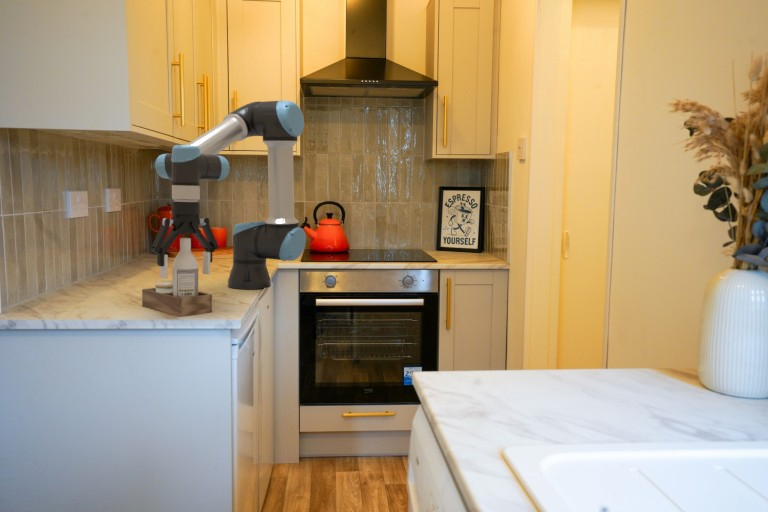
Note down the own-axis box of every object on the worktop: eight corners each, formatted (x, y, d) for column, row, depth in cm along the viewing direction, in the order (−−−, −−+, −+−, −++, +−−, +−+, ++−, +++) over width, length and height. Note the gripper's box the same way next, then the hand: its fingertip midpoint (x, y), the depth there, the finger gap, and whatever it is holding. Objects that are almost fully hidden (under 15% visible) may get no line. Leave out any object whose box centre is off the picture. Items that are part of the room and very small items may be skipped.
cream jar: (171, 300, 199) (171, 280, 199) (184, 303, 195) (184, 282, 194) (151, 302, 194) (150, 281, 194) (163, 306, 190) (163, 284, 189)
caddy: (174, 302, 202) (174, 285, 201) (211, 312, 189) (211, 294, 188) (142, 305, 194) (142, 289, 194) (179, 316, 181) (179, 298, 180)
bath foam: (203, 308, 188) (203, 238, 186) (181, 311, 183) (180, 239, 181) (190, 304, 193) (189, 236, 191) (168, 307, 188) (167, 237, 186)
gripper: (216, 200, 197) (215, 271, 199) (137, 200, 178) (137, 277, 180) (231, 201, 192) (230, 273, 194) (151, 201, 173) (151, 281, 175)
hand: (185, 276), depth 187 cm, fingers open, 13 cm apart
